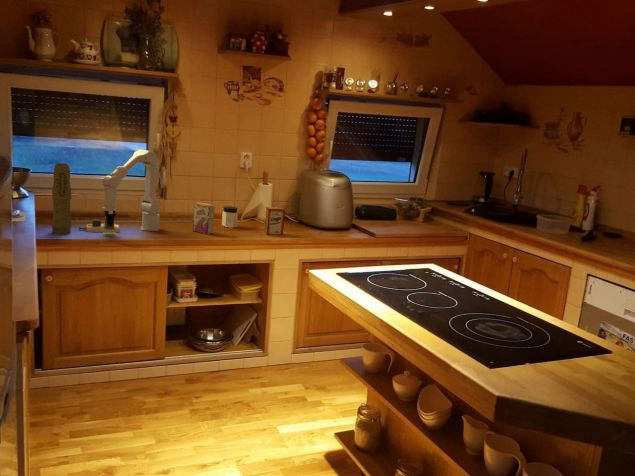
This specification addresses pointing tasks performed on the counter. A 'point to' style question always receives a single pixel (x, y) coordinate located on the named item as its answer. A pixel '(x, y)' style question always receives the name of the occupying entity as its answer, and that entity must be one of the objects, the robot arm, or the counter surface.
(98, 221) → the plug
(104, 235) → the mat
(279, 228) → the baking soda box
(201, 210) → the candy bar box
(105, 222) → the block
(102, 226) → the power strip
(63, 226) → the carved stone statue
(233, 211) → the jar
